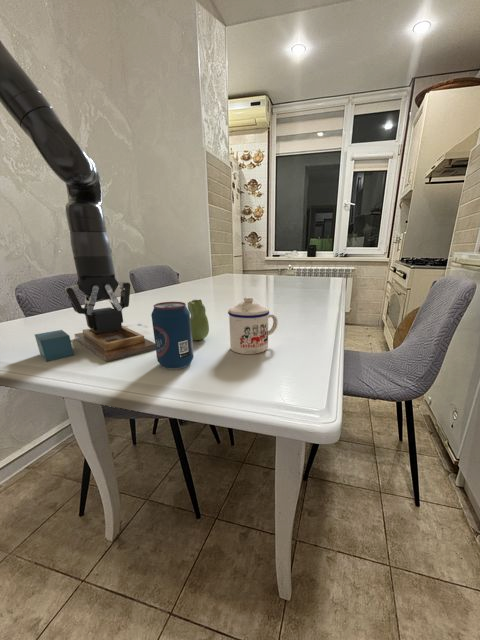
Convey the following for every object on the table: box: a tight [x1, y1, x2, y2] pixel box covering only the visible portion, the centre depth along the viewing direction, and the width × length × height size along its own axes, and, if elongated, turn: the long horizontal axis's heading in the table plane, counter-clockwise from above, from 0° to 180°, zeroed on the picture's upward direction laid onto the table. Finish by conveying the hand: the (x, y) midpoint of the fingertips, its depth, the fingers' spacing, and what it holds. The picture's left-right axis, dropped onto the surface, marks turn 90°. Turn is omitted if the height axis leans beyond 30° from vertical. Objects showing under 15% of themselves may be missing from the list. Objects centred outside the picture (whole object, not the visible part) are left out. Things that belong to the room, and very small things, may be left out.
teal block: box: [34, 329, 75, 362], centre depth 62 cm, size 5×6×4 cm
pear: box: [187, 299, 210, 341], centre depth 71 cm, size 6×5×10 cm
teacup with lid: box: [227, 296, 279, 355], centre depth 65 cm, size 12×9×12 cm
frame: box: [74, 325, 156, 363], centre depth 69 cm, size 11×22×3 cm, turn 46°
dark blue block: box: [93, 307, 123, 333], centre depth 70 cm, size 5×6×4 cm
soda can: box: [150, 301, 194, 371], centre depth 56 cm, size 7×7×12 cm
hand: (106, 327), depth 70 cm, fingers closed on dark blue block, 5 cm apart
